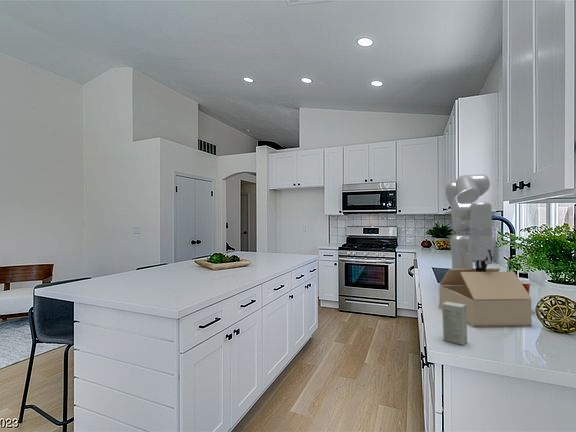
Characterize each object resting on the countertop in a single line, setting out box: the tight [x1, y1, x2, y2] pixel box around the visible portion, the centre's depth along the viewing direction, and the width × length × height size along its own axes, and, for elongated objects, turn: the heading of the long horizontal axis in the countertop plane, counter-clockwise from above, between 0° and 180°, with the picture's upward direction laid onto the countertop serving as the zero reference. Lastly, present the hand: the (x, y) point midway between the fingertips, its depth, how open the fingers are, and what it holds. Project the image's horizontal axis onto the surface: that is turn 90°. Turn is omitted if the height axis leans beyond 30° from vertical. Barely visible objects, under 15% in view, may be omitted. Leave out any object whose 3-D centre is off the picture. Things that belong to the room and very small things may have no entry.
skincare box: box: [442, 302, 468, 346], centre depth 100 cm, size 6×4×12 cm
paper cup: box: [517, 276, 531, 295], centre depth 131 cm, size 8×8×14 cm
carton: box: [438, 285, 532, 328], centre depth 124 cm, size 24×22×10 cm
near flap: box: [438, 267, 501, 286], centre depth 132 cm, size 12×22×1 cm
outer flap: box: [460, 271, 532, 301], centre depth 116 cm, size 12×22×1 cm
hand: (480, 276), depth 124 cm, fingers closed
